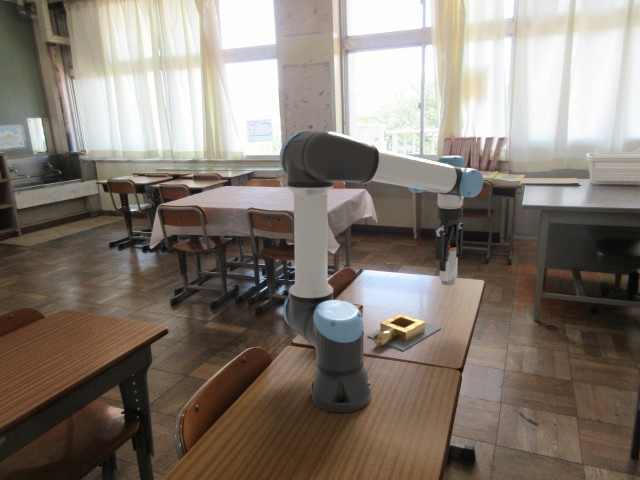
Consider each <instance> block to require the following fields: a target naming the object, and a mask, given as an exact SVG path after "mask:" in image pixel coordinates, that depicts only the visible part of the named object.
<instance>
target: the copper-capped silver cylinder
mask: <svg viewBox="0 0 640 480" xmlns="http://www.w3.org/2000/svg"><path fill="white" fill-rule="evenodd" d="M447 261H449V269H448V281H443V280H440V284H441V285H444V286H454V285H456V283H457V282H456V281H457V277H456V246H452V245H449V251H448V257H447Z"/></svg>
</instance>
